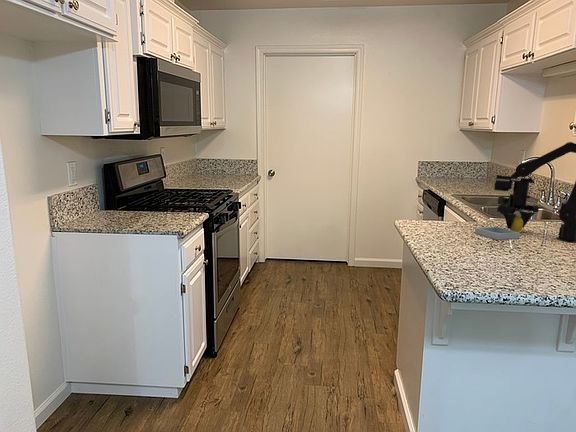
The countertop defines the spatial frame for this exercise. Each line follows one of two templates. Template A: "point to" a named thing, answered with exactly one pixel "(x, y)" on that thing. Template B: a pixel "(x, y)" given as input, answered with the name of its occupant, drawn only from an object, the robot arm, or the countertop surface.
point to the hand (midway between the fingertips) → (515, 228)
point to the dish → (497, 233)
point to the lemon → (517, 224)
